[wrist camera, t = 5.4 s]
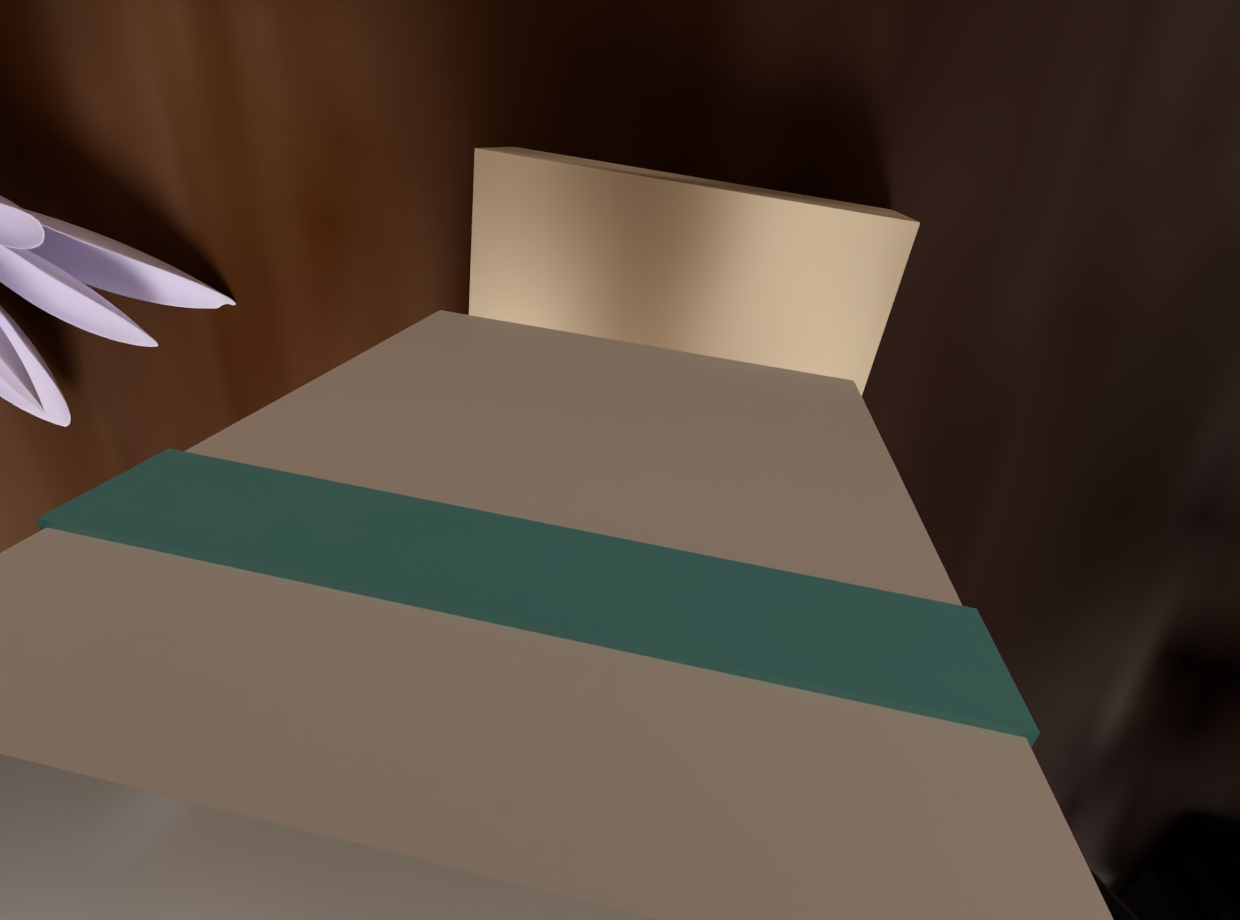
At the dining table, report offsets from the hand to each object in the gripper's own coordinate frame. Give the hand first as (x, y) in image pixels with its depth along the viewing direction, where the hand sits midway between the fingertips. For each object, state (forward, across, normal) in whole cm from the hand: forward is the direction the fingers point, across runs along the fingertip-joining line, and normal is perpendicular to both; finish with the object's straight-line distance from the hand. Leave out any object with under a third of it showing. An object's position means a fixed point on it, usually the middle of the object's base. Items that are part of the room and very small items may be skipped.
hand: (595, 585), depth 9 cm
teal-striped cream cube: (+2, 0, 0) cm, 2 cm away
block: (+10, 0, 0) cm, 10 cm away
